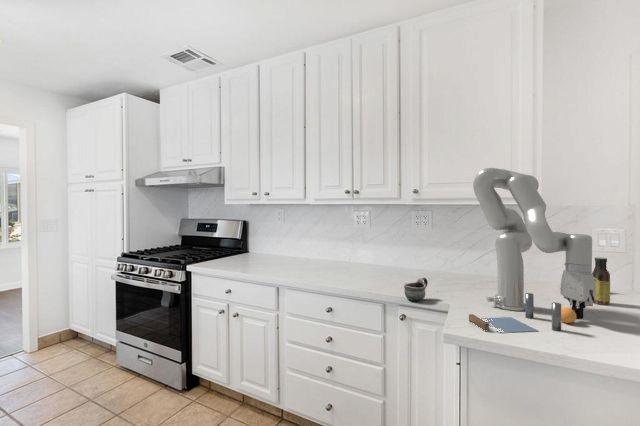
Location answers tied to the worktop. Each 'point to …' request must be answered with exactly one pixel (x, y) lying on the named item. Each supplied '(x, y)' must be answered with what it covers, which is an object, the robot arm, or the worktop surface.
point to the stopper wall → (478, 322)
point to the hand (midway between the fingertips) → (577, 318)
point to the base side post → (529, 305)
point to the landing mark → (509, 324)
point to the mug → (416, 289)
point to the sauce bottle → (601, 281)
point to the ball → (568, 315)
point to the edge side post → (556, 316)
